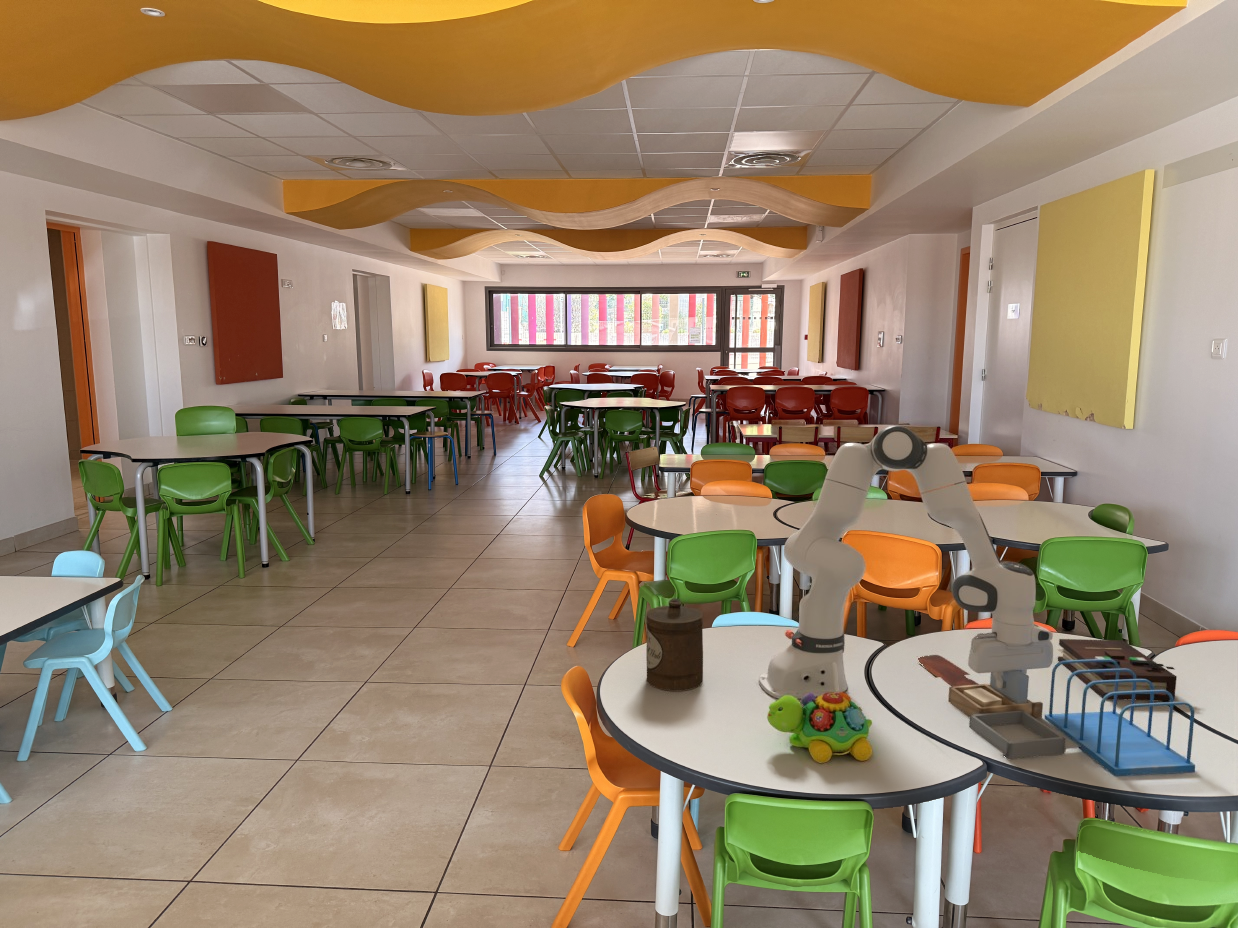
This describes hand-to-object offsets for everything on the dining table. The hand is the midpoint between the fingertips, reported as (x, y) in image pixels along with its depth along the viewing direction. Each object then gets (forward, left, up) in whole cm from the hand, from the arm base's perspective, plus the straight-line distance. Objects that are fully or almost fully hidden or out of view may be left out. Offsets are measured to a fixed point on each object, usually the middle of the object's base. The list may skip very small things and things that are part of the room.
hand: (1008, 686), depth 197 cm
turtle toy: (-51, -8, -6) cm, 52 cm away
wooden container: (-73, +33, -6) cm, 81 cm away
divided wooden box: (-3, 0, -6) cm, 7 cm away
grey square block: (0, 0, -5) cm, 5 cm away
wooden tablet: (0, +23, -7) cm, 24 cm away
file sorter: (+12, -20, -6) cm, 24 cm away
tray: (-8, -14, -6) cm, 17 cm away
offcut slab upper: (-7, 0, -3) cm, 8 cm away
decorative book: (+39, +12, -7) cm, 41 cm away
